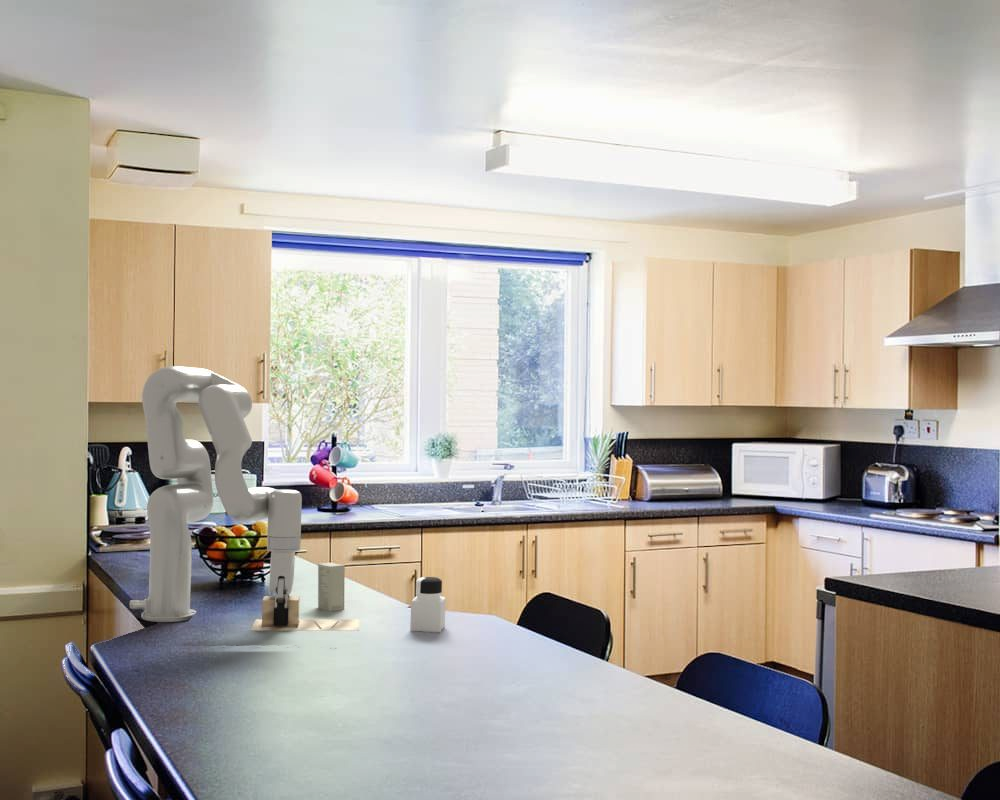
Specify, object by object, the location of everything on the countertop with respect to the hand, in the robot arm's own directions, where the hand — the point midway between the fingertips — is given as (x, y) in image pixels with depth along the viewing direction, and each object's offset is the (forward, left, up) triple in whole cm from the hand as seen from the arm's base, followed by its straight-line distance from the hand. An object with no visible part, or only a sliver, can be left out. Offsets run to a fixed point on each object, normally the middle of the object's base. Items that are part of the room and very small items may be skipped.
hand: (281, 622), depth 241 cm
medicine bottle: (+34, +1, -2) cm, 34 cm away
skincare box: (+11, +20, -2) cm, 23 cm away
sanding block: (0, 0, -1) cm, 1 cm away
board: (+6, 0, -2) cm, 6 cm away
